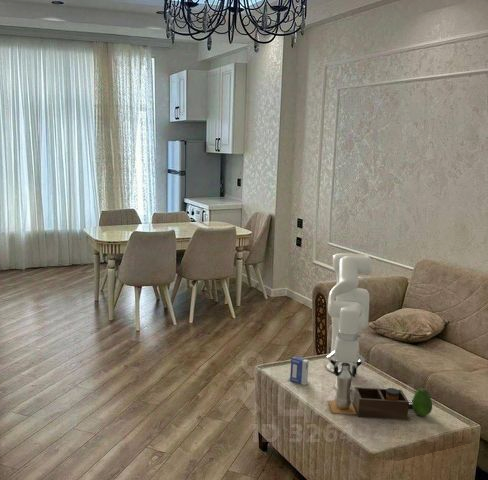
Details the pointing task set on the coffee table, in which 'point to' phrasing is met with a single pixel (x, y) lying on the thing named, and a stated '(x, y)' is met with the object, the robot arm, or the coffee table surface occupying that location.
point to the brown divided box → (379, 404)
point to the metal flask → (343, 386)
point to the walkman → (299, 370)
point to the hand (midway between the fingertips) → (344, 374)
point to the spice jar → (392, 394)
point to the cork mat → (341, 411)
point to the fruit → (422, 402)
